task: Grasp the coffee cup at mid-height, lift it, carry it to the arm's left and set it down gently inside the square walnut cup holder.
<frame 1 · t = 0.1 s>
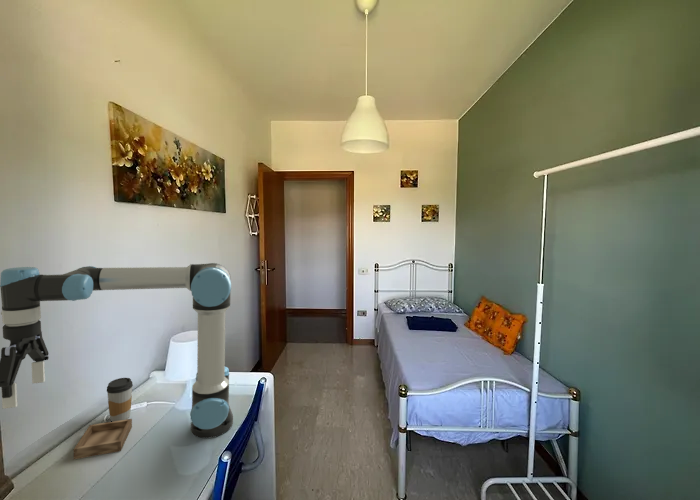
hand: (25, 394, 91), 28 cm above the table, fingers open, 13 cm apart
coffee cup: (120, 418, 125), on the table
holder: (105, 442, 112), on the table
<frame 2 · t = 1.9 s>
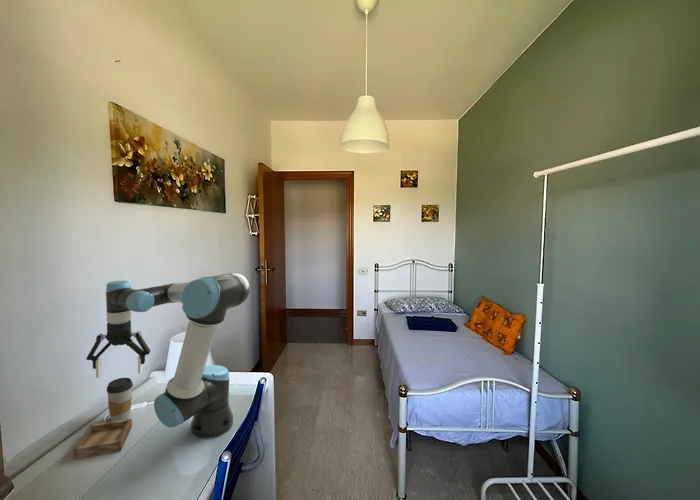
hand: (119, 374, 123), 18 cm above the table, fingers open, 13 cm apart
nothing on the table moved.
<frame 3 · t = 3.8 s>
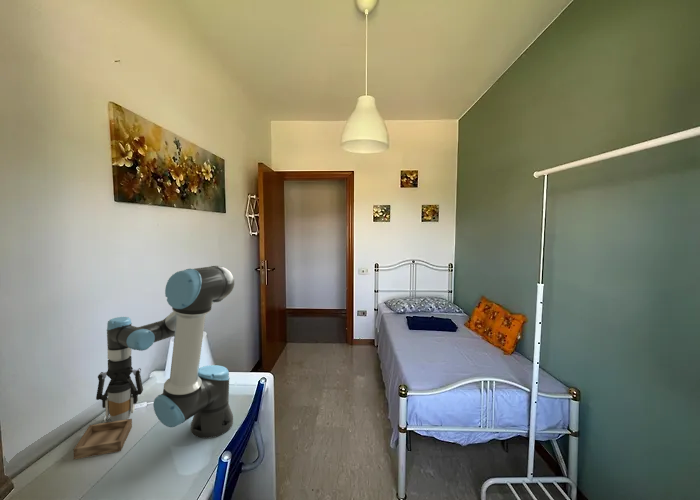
hand: (120, 412, 125), 2 cm above the table, fingers closed on coffee cup, 7 cm apart
coffee cup: (120, 418, 125), on the table, touching gripper
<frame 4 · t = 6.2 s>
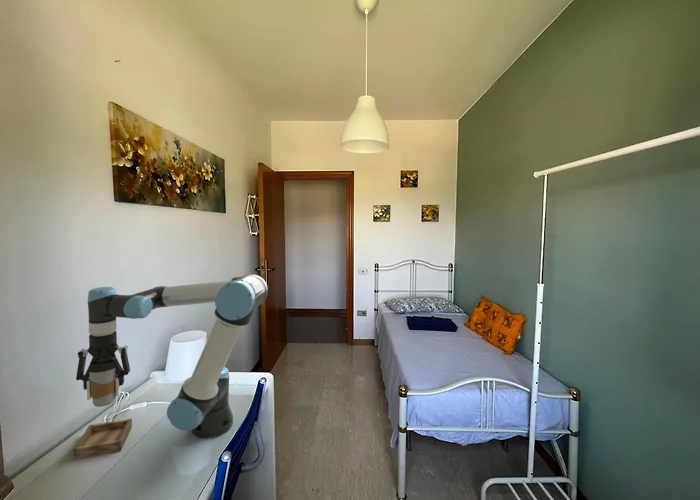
hand: (104, 395, 111), 17 cm above the table, fingers closed on coffee cup, 7 cm apart
coffee cup: (104, 402, 111), point 15 cm above the table, touching gripper
when the fingers open (5 cm above the table, at t = 8.9 s): coffee cup drops 2 cm, resting on holder.
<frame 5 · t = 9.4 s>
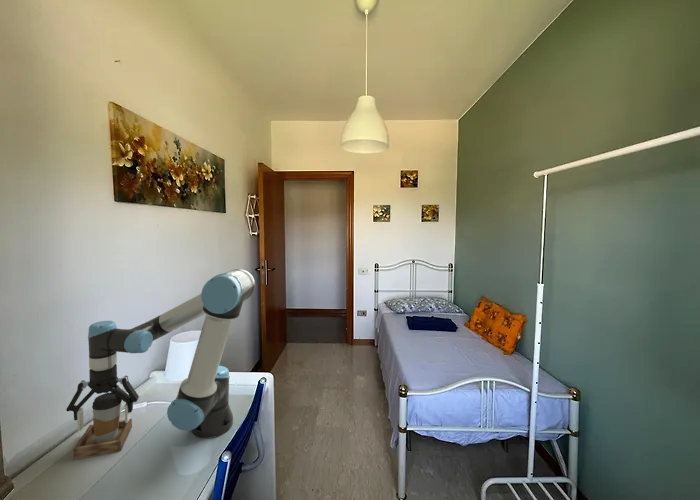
hand: (104, 424, 111), 7 cm above the table, fingers open, 13 cm apart
coffee cup: (106, 439, 112), point 1 cm above the table, touching holder
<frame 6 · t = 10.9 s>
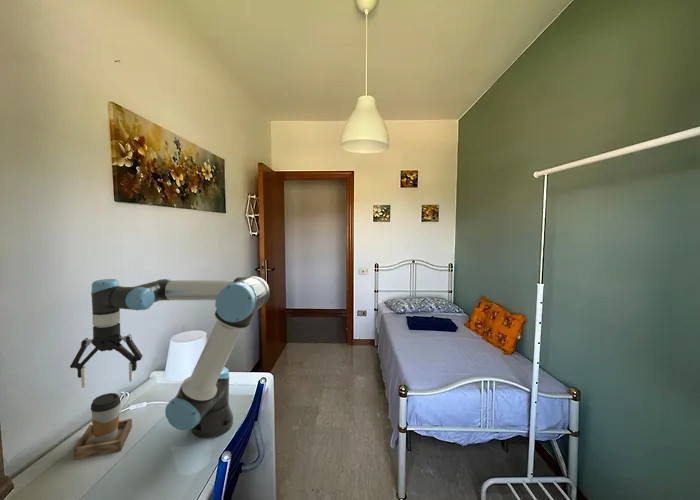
hand: (108, 382, 111), 21 cm above the table, fingers open, 13 cm apart
nothing on the table moved.
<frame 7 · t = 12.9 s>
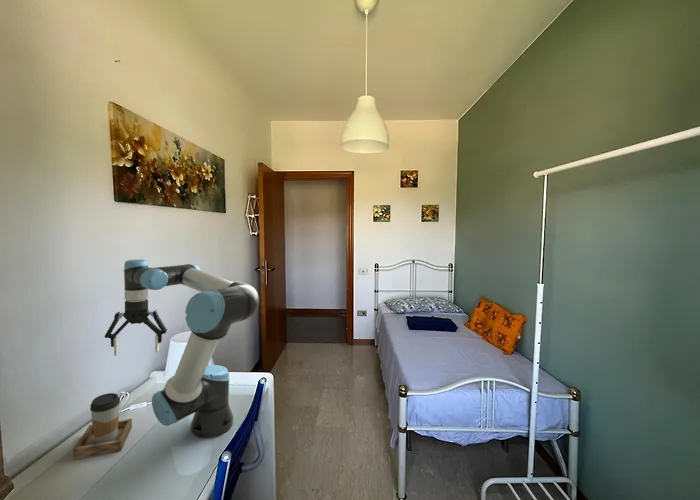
hand: (137, 352, 124), 27 cm above the table, fingers open, 13 cm apart
nothing on the table moved.
at the end: coffee cup 0.3 cm from the holder (horizontally); coffee cup point 0.8 cm above the table; coffee cup tilted 0° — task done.
